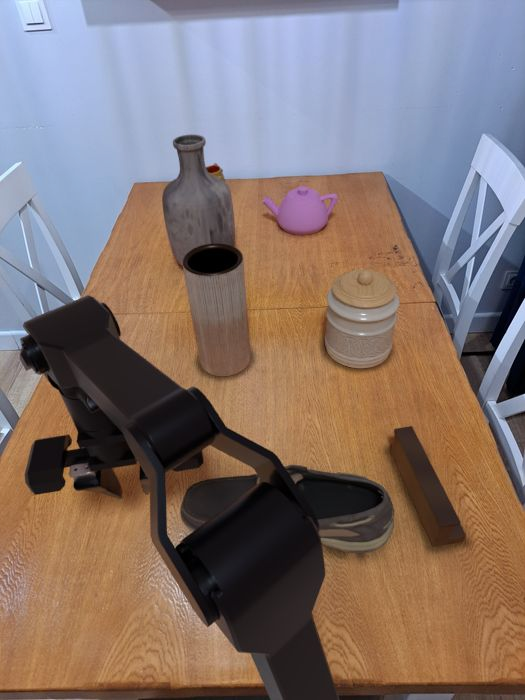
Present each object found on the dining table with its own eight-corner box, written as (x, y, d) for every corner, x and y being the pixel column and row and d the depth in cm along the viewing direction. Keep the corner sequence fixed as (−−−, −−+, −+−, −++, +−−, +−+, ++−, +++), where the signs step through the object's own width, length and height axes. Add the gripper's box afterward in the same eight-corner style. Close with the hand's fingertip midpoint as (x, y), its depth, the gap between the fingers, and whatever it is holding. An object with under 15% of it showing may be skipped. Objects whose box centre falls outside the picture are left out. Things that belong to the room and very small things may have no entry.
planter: (192, 353, 97) (173, 252, 82) (237, 336, 100) (227, 237, 85) (212, 384, 90) (195, 281, 75) (259, 365, 94) (253, 263, 78)
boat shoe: (190, 483, 75) (179, 439, 68) (384, 485, 73) (394, 440, 66) (178, 552, 67) (165, 511, 60) (396, 556, 65) (408, 515, 58)
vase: (247, 272, 118) (237, 145, 98) (182, 288, 114) (159, 159, 94) (226, 242, 130) (214, 122, 109) (167, 255, 126) (143, 134, 106)
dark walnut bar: (463, 541, 66) (474, 519, 62) (431, 547, 66) (440, 526, 62) (416, 447, 78) (423, 423, 74) (389, 451, 78) (394, 428, 74)
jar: (333, 321, 103) (338, 247, 91) (395, 333, 99) (409, 257, 87) (316, 362, 94) (319, 285, 82) (385, 376, 90) (398, 298, 78)
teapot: (264, 214, 141) (263, 177, 134) (334, 213, 139) (336, 176, 132) (261, 237, 130) (259, 199, 123) (337, 237, 129) (339, 198, 122)
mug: (223, 194, 152) (221, 173, 147) (202, 194, 153) (199, 173, 148) (230, 178, 161) (228, 158, 156) (209, 178, 161) (207, 158, 157)
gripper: (188, 345, 57) (204, 431, 67) (22, 369, 55) (65, 453, 65) (194, 418, 48) (211, 502, 59) (-2, 448, 47) (52, 530, 57)
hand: (134, 493), depth 60 cm, fingers open, 3 cm apart
